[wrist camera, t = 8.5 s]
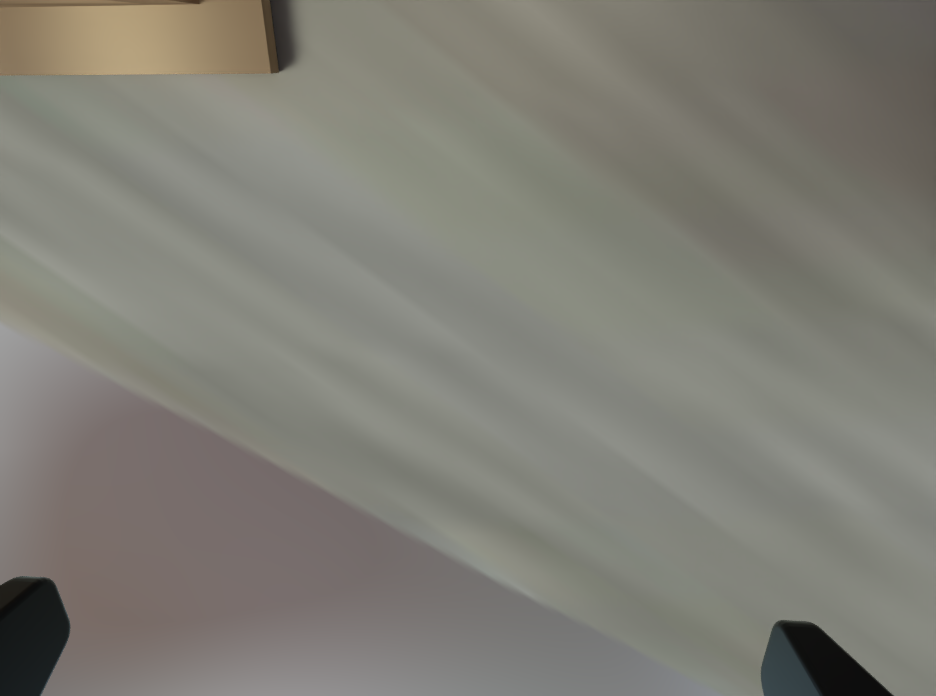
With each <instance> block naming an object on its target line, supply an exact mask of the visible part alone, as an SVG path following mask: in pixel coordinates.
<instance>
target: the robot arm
mask: <svg viewBox="0 0 936 696" xmlns="http://www.w3.org/2000/svg"><path fill="white" fill-rule="evenodd" d="M69 634H70V621H69V618H68V615H67V612H66V610H65V607H64V605H63V602H62V600H61V597H60V594H59V592H58V589H57V587H56V585H55V583H54V582H53V581H52V580H51V579H49V578H45V577H29V576H21V577H16V578H13V579H11V580H9V581H7V582H5V583H4V584H2V585H0V696H41V694H42V692H43V690H44V688H45V686H46V684H47V682H48V680H49V678H50V676H51V674H52V672H53V670H54V668H55V666H56V664H57V662H58V660H59V657H60V656H61V654H62V652H63V649H64V648H65V646H66V643H67V641H68V638H69ZM761 682H762V689H763V693H764V696H893V695H892V694H891V693H890V692H889V691H888V690H887V689H886V688H885V687H884V686H883V685H882V684H880V683H879V682H878V681H877V680H876V679H875V678H874V677H873V676H872V675H871V674H870V673H869V672H867V671H866V670H865V669H864V668H863V667H862V666H861V665H860V664H859V663H858V662H857V661H855V660H854V659H853V658H852V657H851V656H850V655H849V654H848V653H847V652H846V651H845V650H844V649H842V648H841V647H840V646H839V645H838V644H837V643H836V642H835V641H834V640H833V639H832V638H831V637H829V636H828V635H827V634H826V633H825V632H824V631H823V630H822V629H821V628H819V627H818V626H817V625H815V624H813V623H811V622H806V621H789V620H780V621H778V622H776V623H775V624H774V626H773V628H772V631H771V635H770V638H769V642H768V645H767V649H766V652H765V655H764V659H763V662H762V667H761Z"/></svg>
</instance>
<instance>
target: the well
mask: <svg viewBox="0 0 936 696" xmlns="http://www.w3.org/2000/svg"><path fill="white" fill-rule="evenodd" d="M255 73H279V68H278V60H277V52H276V44H275V37H274V29H273V21H272V13H271V5H270V0H0V75H119V74H255Z"/></svg>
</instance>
